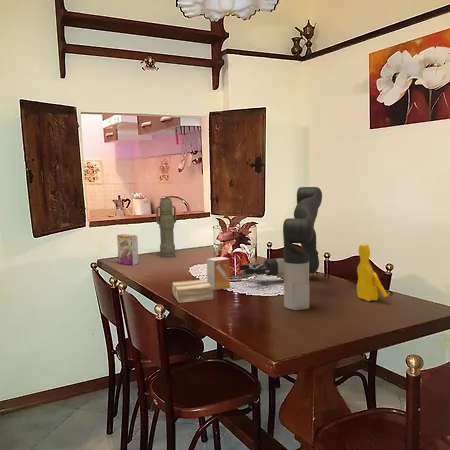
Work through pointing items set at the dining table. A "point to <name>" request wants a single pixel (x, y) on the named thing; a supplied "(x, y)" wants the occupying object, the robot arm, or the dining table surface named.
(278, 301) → the dining table surface
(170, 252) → the thermos
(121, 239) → the candy bar box
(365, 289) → the figure statuette
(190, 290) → the birch block
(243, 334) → the dining table surface
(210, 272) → the small box
